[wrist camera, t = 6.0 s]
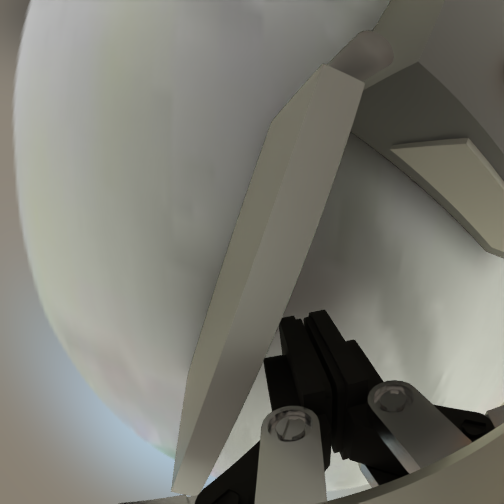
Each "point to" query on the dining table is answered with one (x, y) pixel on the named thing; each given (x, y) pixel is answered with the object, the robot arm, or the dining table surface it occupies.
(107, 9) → the dining table surface
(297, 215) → the side door
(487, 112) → the camera case
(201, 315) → the dining table surface
